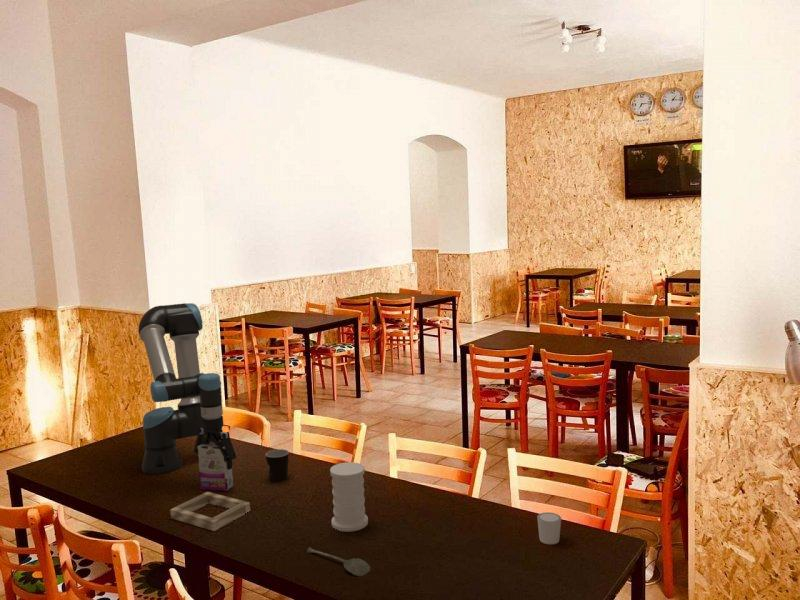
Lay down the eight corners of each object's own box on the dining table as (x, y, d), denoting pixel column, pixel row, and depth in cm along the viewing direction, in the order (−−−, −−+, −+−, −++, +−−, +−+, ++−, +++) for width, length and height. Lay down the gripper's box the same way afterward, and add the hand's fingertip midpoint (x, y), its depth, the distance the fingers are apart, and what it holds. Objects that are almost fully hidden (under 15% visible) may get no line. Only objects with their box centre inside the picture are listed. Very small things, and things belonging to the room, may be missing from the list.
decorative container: (334, 534, 202) (332, 477, 200) (328, 518, 213) (326, 464, 211) (371, 528, 205) (369, 472, 203) (363, 512, 216) (361, 459, 214)
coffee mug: (287, 483, 243) (286, 457, 242) (264, 483, 243) (263, 457, 242) (293, 471, 254) (292, 446, 253) (271, 471, 255) (269, 446, 253)
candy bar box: (234, 486, 242) (231, 443, 240) (227, 491, 237) (224, 447, 235) (206, 484, 244) (203, 441, 242) (199, 489, 240) (196, 446, 238)
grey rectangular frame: (171, 518, 217) (170, 509, 217) (208, 499, 230) (207, 491, 230) (214, 531, 207) (213, 522, 206) (250, 511, 220) (249, 502, 220)
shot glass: (556, 547, 189) (556, 524, 188) (534, 542, 193) (533, 519, 192) (564, 537, 195) (564, 514, 194) (542, 532, 198) (542, 510, 198)
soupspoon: (359, 582, 176) (375, 573, 181) (359, 570, 176) (375, 561, 181) (301, 557, 189) (317, 548, 195) (301, 545, 189) (317, 537, 194)
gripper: (180, 415, 240) (185, 472, 243) (228, 423, 228) (232, 484, 231) (196, 410, 247) (201, 465, 249) (244, 418, 234) (247, 476, 237)
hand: (216, 474), depth 240 cm, fingers closed on candy bar box, 12 cm apart
